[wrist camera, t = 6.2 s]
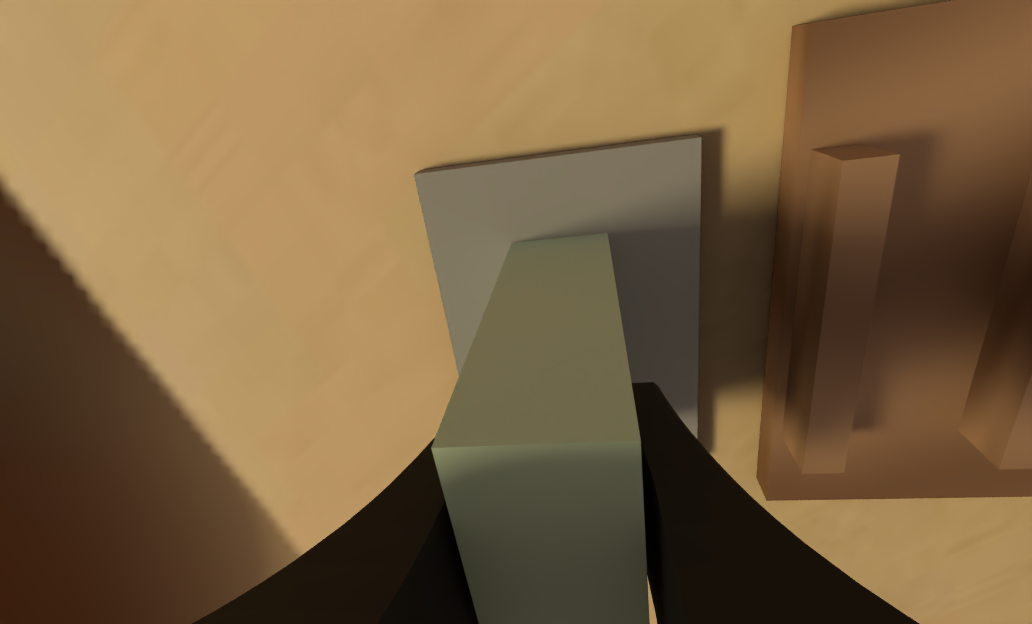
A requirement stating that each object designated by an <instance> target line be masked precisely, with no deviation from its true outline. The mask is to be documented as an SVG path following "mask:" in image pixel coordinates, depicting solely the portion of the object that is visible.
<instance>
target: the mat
mask: <svg viewBox="0 0 1032 624" xmlns="http://www.w3.org/2000/svg"><path fill="white" fill-rule="evenodd" d="M701 142H702V137H700V136H699V135H697V134H693V135H686V136H678V137H670V138H663V139H655V140H647V141H640V142H632V143H624V144H616V145H609V146H601V147H593V148H586V149H578V150H570V151H562V152H555V153H547V154H539V155H532V156H524V157H516V158H509V159H501V160H493V161H485V162H478V163H470V164H462V165H455V166H447V167H439V168H432V169H424V170H420V171H418V172H417V173H415V174H414V177H415V181H416V186H417V190H418V195H419V199H420V204H421V208H422V213H423V217H424V222H425V226H426V231H427V235H428V240H429V244H430V248H431V253H432V257H433V262H434V266H435V271H436V275H437V280H438V284H439V289H440V293H441V298H442V302H443V307H444V311H445V316H446V320H447V325H448V329H449V334H450V338H451V343H452V347H453V352H454V356H455V361H456V365H457V370H458V374H459V376H460V373H461V371H462V368H463V366H464V363H465V360H466V358H467V355H468V353H469V350H470V348H471V345H472V343H473V340H474V337H475V335H476V332H477V330H478V327H479V325H480V322H481V320H482V317H483V314H484V312H485V309H486V307H487V304H488V302H489V299H490V297H491V294H492V291H493V289H494V286H495V284H496V281H497V279H498V276H499V274H500V271H501V268H502V266H503V263H504V261H505V258H506V256H507V253H508V251H509V248H510V245H511V243H514V242H524V241H533V240H543V239H553V238H562V237H572V236H582V235H592V234H601V233H608V239H609V245H610V251H611V258H612V264H613V270H614V277H615V283H616V289H617V295H618V302H619V308H620V314H621V320H622V327H623V333H624V339H625V345H626V352H627V358H628V364H629V370H630V377H631V383H643V382H654V383H655V384H656V385H658V386H659V387H660V389H661V391H662V393H663V394H664V396H665V397H666V399H667V400H668V402H669V403H670V405H671V406H672V408H673V409H674V410H675V412H676V413H677V414H678V416H679V417H680V419H681V420H682V421H683V422H684V424H685V425H686V426H687V428H688V429H689V430H690V431H691V433H692V434H693V435H694V436H695V437H696V438H697V429H698V357H699V285H700V214H701Z"/></svg>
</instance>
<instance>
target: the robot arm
mask: <svg viewBox="0 0 1032 624" xmlns="http://www.w3.org/2000/svg"><path fill="white" fill-rule="evenodd" d="M632 389H633V395H634V402H635V408H636V414H637V420H638V427H639V433H640V439H641V456H642V478H643V499H644V520H645V541H646V562H647V576H648V580H649V585H650V589H651V594H652V599H653V603H654V608H655V613H656V618H657V624H919V623H917V622H916V621H914V620H913V619H911V618H910V617H908V616H907V615H905V614H904V613H902V612H901V611H899V610H898V609H896V608H895V607H893V606H892V605H890V604H889V603H887V602H886V601H884V600H883V599H881V598H880V597H878V596H877V595H875V594H874V593H872V592H871V591H869V590H868V589H866V588H865V587H863V586H862V585H860V584H859V583H857V582H856V581H855V580H853V579H852V578H851V577H849V576H848V575H847V574H845V573H844V572H843V571H841V570H840V569H839V568H837V567H836V566H835V565H833V564H832V563H831V562H829V561H828V560H827V559H825V558H824V557H823V556H821V555H820V554H819V553H817V552H816V551H815V550H813V549H812V548H811V547H809V546H808V545H807V544H805V543H804V542H803V541H802V540H800V539H799V538H798V537H797V536H796V535H794V534H793V533H792V532H791V531H790V530H788V529H787V528H786V527H785V526H784V525H782V524H781V523H780V522H779V521H778V520H776V519H775V518H774V517H773V516H772V515H771V514H770V513H769V512H767V511H766V510H765V509H764V508H763V507H762V506H761V505H760V504H759V503H757V502H756V501H755V500H754V499H753V498H752V497H751V496H750V495H749V494H748V493H747V492H746V491H745V490H744V489H743V488H742V487H741V486H740V485H739V484H738V483H737V482H736V481H735V480H734V479H733V478H732V477H731V476H730V475H729V474H728V473H727V472H726V471H725V470H724V469H723V468H722V467H721V466H720V465H719V464H718V463H717V461H716V460H715V459H714V458H713V457H712V456H711V455H710V454H709V453H708V451H707V450H706V449H705V448H704V447H703V446H702V444H701V443H700V442H699V441H698V440H697V438H696V437H695V436H694V435H693V434H692V433H691V431H690V430H689V429H688V428H687V426H686V425H685V424H684V422H683V421H682V420H681V419H680V417H679V416H678V414H677V413H676V412H675V410H674V409H673V408H672V406H671V405H670V403H669V402H668V400H667V399H666V397H665V396H664V394H663V393H662V391H661V389H660V387H659V386H658V385H656V384H655V383H654V382H643V383H632ZM434 440H435V438H434V439H433V440H432V441H431V442H430V443H429V444H428V445H427V447H426V448H425V449H424V450H423V451H422V452H421V453H420V454H419V455H418V456H417V458H416V459H415V460H414V461H413V462H412V463H411V464H410V465H409V466H408V467H407V468H406V469H405V470H404V471H403V472H402V473H401V474H400V475H399V476H398V477H397V478H396V479H395V480H394V481H393V482H392V483H391V484H390V485H389V486H388V487H386V488H385V489H384V490H383V491H382V492H381V493H380V494H379V495H378V496H377V497H376V498H374V499H373V500H372V501H371V502H370V503H369V504H367V505H366V506H365V507H364V508H363V509H362V510H360V511H359V512H358V513H357V514H356V515H354V516H353V517H352V518H351V519H350V520H348V521H347V522H346V523H345V524H343V525H342V526H341V527H340V528H338V529H337V530H336V531H334V532H333V533H332V534H330V535H329V536H327V537H326V538H325V539H323V540H322V541H321V542H319V543H318V544H317V545H315V546H314V547H313V548H311V549H310V550H309V551H307V552H306V553H304V554H303V555H302V556H300V557H299V558H298V559H296V560H295V561H293V562H292V563H291V564H289V565H288V566H286V567H285V568H283V569H282V570H280V571H278V572H277V573H275V574H274V575H272V576H271V577H269V578H268V579H266V580H265V581H263V582H262V583H260V584H259V585H257V586H255V587H254V588H252V589H251V590H249V591H247V592H246V593H244V594H242V595H241V596H239V597H238V598H236V599H235V600H233V601H231V602H229V603H228V604H226V605H224V606H223V607H221V608H219V609H218V610H216V611H214V612H212V613H210V614H209V615H207V616H205V617H203V618H201V619H200V620H198V621H196V622H194V623H192V624H479V622H478V619H477V615H476V611H475V608H474V604H473V600H472V597H471V593H470V589H469V586H468V582H467V578H466V575H465V571H464V567H463V564H462V560H461V556H460V552H459V549H458V545H457V541H456V538H455V534H454V530H453V527H452V523H451V519H450V516H449V512H448V508H447V505H446V501H445V497H444V493H443V490H442V486H441V482H440V479H439V475H438V471H437V468H436V464H435V460H434V457H433V453H432V449H431V447H432V445H433V442H434Z"/></svg>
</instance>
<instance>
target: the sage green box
mask: <svg viewBox="0 0 1032 624" xmlns="http://www.w3.org/2000/svg"><path fill="white" fill-rule="evenodd" d="M431 449H432V453H433V457H434V460H435V464H436V468H437V471H438V475H439V479H440V482H441V486H442V490H443V493H444V497H445V501H446V505H447V508H448V512H449V516H450V519H451V523H452V527H453V530H454V534H455V538H456V541H457V545H458V549H459V552H460V556H461V560H462V564H463V567H464V571H465V575H466V578H467V582H468V586H469V589H470V593H471V597H472V600H473V604H474V608H475V611H476V615H477V619H478V622H479V624H649V604H648V583H647V562H646V541H645V520H644V499H643V478H642V456H641V439H640V433H639V427H638V420H637V414H636V408H635V402H634V395H633V389H632V383H631V377H630V370H629V364H628V358H627V352H626V345H625V339H624V333H623V327H622V320H621V314H620V308H619V302H618V295H617V289H616V283H615V277H614V270H613V264H612V258H611V251H610V245H609V239H608V233H601V234H592V235H582V236H572V237H562V238H553V239H543V240H533V241H524V242H514V243H511V245H510V248H509V251H508V253H507V256H506V258H505V261H504V263H503V266H502V268H501V271H500V274H499V276H498V279H497V281H496V284H495V286H494V289H493V291H492V294H491V297H490V299H489V302H488V304H487V307H486V309H485V312H484V314H483V317H482V320H481V322H480V325H479V327H478V330H477V332H476V335H475V337H474V340H473V343H472V345H471V348H470V350H469V353H468V355H467V358H466V360H465V363H464V366H463V368H462V371H461V373H460V376H459V378H458V381H457V383H456V386H455V388H454V391H453V394H452V396H451V399H450V401H449V404H448V406H447V409H446V411H445V414H444V417H443V419H442V422H441V424H440V427H439V429H438V432H437V434H436V437H435V440H434V442H433V445H432V447H431Z"/></svg>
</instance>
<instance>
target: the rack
mask: <svg viewBox="0 0 1032 624" xmlns="http://www.w3.org/2000/svg"><path fill="white" fill-rule="evenodd" d="M757 479H758V482H759V484H760V486H761V489H762V491H763V493H764V496H765V498H766V500H767V501H772V500H836V499H901V498H965V497H1030V496H1032V0H951V1H945V2H939V3H932V4H926V5H920V6H913V7H907V8H901V9H895V10H888V11H882V12H876V13H869V14H863V15H857V16H850V17H844V18H838V19H832V20H825V21H819V22H813V23H807V24H802V25H796V26H792V38H791V50H790V63H789V75H788V88H787V100H786V113H785V125H784V138H783V151H782V163H781V176H780V188H779V201H778V213H777V226H776V238H775V251H774V264H773V276H772V289H771V301H770V314H769V326H768V339H767V351H766V364H765V377H764V389H763V402H762V414H761V427H760V439H759V452H758V464H757Z"/></svg>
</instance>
